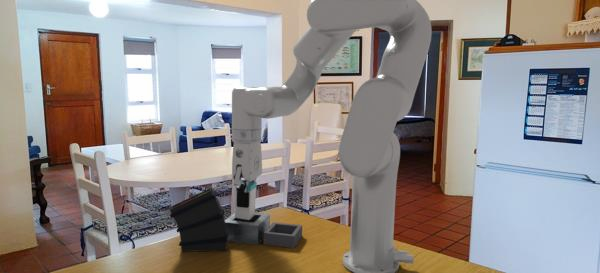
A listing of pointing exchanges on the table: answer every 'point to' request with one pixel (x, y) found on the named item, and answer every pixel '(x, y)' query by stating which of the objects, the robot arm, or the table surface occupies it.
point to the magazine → (201, 223)
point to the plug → (250, 211)
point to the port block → (247, 228)
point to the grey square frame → (283, 235)
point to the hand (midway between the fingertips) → (246, 203)
